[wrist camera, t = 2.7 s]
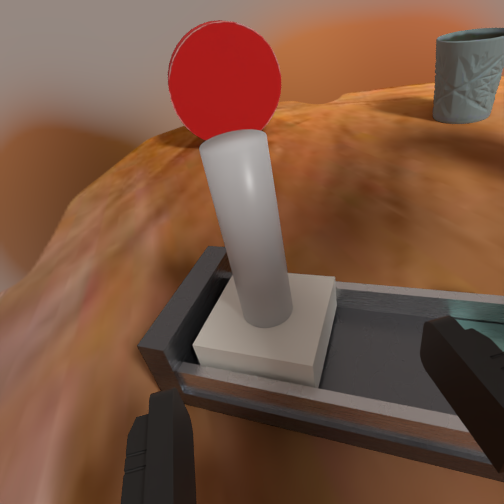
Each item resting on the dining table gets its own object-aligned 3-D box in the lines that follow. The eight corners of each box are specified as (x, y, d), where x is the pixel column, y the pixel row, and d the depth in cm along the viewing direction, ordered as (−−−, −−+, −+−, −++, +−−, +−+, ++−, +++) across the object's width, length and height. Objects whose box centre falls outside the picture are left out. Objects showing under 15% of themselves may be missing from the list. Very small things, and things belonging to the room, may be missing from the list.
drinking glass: (419, 112, 66) (426, 37, 60) (477, 102, 66) (490, 24, 59) (445, 129, 58) (455, 44, 51) (511, 117, 57) (531, 29, 51)
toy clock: (279, 123, 76) (264, 9, 65) (287, 130, 71) (272, 8, 60) (185, 146, 75) (152, 33, 63) (187, 155, 70) (152, 35, 58)
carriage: (242, 295, 32) (198, 121, 23) (336, 306, 29) (325, 110, 20) (203, 373, 26) (124, 177, 17) (316, 396, 23) (288, 174, 14)
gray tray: (223, 297, 35) (208, 246, 32) (559, 335, 26) (590, 268, 22) (165, 399, 27) (137, 345, 24) (626, 511, 18) (690, 449, 14)
